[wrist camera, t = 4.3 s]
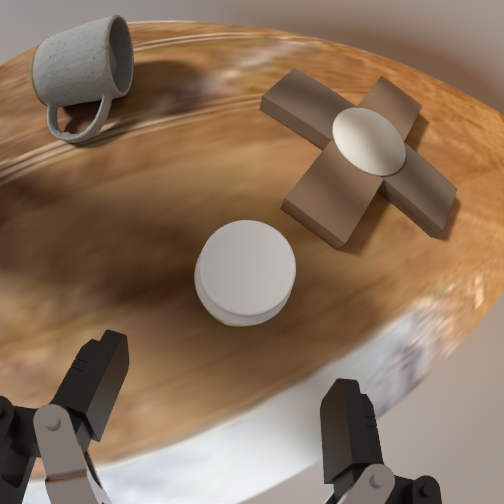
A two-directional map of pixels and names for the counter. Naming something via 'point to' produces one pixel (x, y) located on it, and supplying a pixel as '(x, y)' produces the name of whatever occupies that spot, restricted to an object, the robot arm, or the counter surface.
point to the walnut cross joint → (357, 157)
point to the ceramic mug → (83, 71)
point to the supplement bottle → (245, 273)
